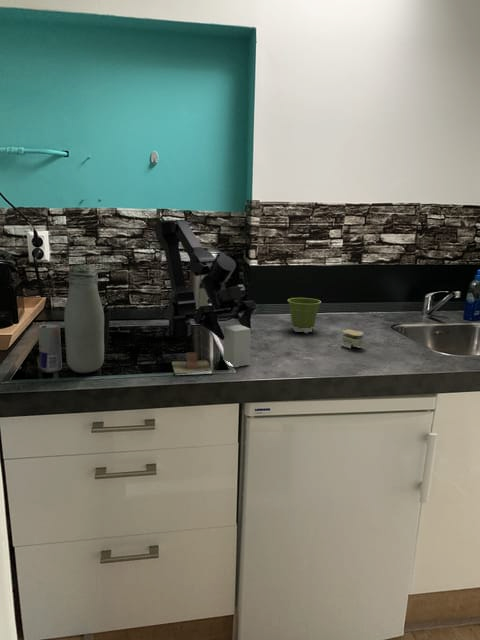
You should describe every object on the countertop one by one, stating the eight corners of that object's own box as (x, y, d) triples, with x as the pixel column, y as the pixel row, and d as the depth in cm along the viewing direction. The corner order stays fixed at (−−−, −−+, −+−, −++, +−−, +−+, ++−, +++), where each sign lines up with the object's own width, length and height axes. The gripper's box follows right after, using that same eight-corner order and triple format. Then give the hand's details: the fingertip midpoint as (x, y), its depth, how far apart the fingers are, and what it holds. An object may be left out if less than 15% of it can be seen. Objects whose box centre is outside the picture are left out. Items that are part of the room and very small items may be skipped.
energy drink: (43, 366, 140) (41, 323, 138) (64, 366, 141) (62, 323, 138) (38, 372, 135) (35, 328, 132) (59, 372, 136) (56, 328, 133)
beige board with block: (171, 364, 145) (171, 348, 144) (207, 363, 147) (207, 347, 146) (174, 376, 136) (175, 360, 135) (212, 374, 138) (213, 358, 137)
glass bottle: (70, 380, 131) (65, 269, 124) (63, 367, 140) (58, 263, 133) (109, 374, 135) (106, 268, 129) (100, 363, 144) (97, 262, 138)
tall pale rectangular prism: (223, 362, 148) (224, 326, 145) (238, 360, 151) (239, 324, 149) (233, 368, 144) (234, 331, 141) (249, 365, 147) (250, 328, 144)
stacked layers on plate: (331, 348, 167) (332, 331, 166) (346, 343, 173) (347, 327, 172) (358, 355, 160) (360, 338, 159) (373, 349, 167) (374, 333, 166)
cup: (116, 348, 158) (115, 310, 156) (102, 355, 151) (100, 315, 149) (94, 345, 161) (93, 307, 158) (79, 352, 154) (77, 312, 151)
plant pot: (324, 330, 187) (326, 300, 185) (310, 337, 178) (312, 305, 175) (295, 325, 193) (296, 296, 191) (280, 332, 184) (281, 300, 181)
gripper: (199, 277, 141) (220, 325, 134) (254, 273, 151) (276, 317, 145) (184, 300, 149) (204, 347, 142) (238, 295, 159) (258, 338, 153)
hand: (237, 337), depth 146 cm, fingers open, 9 cm apart
